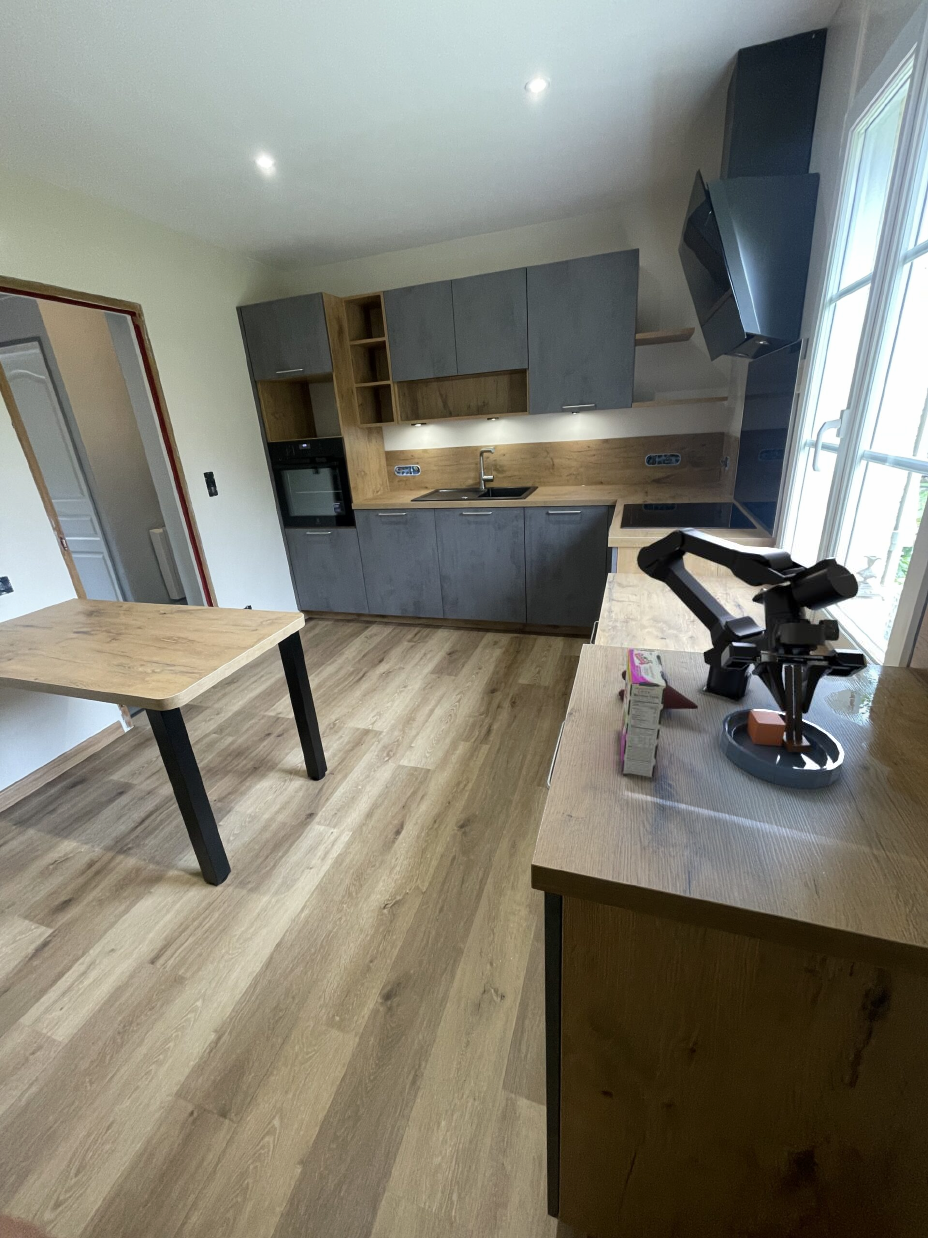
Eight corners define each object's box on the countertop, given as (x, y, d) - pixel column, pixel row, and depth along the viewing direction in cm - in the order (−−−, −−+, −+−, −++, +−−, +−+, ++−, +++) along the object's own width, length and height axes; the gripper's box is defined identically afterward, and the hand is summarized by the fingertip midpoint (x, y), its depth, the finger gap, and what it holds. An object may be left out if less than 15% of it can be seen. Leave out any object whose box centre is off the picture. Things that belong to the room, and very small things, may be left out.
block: (754, 744, 79) (758, 723, 78) (746, 730, 83) (750, 710, 81) (781, 746, 78) (786, 725, 77) (772, 732, 82) (776, 712, 81)
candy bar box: (618, 733, 84) (627, 647, 78) (649, 737, 83) (660, 650, 77) (619, 775, 74) (630, 681, 68) (654, 780, 73) (668, 685, 67)
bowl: (705, 759, 77) (708, 741, 76) (734, 715, 88) (738, 698, 87) (829, 808, 67) (835, 788, 65) (844, 751, 78) (850, 733, 76)
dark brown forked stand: (778, 738, 80) (776, 661, 76) (799, 737, 79) (798, 659, 75) (788, 752, 76) (787, 672, 72) (810, 751, 75) (810, 670, 71)
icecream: (709, 685, 86) (632, 664, 97) (691, 690, 81) (612, 667, 92) (703, 722, 87) (627, 697, 98) (684, 729, 82) (607, 702, 93)
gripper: (736, 595, 76) (742, 692, 70) (878, 601, 71) (897, 705, 65) (718, 623, 86) (722, 710, 80) (842, 630, 81) (856, 723, 75)
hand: (794, 712), depth 74 cm, fingers closed on dark brown forked stand, 2 cm apart
